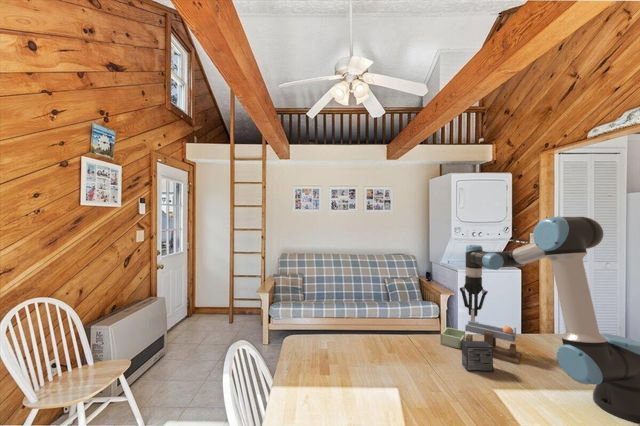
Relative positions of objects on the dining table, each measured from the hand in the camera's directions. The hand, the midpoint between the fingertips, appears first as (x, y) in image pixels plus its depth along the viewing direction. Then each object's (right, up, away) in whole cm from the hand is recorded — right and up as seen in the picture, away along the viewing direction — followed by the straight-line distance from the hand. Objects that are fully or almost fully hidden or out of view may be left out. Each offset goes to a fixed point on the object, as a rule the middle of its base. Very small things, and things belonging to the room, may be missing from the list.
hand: (472, 321), depth 154 cm
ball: (+8, +2, -16) cm, 18 cm away
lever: (+4, -2, -9) cm, 10 cm away
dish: (-11, -10, -1) cm, 15 cm away
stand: (+2, -10, -11) cm, 15 cm away
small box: (-11, -10, -26) cm, 30 cm away
